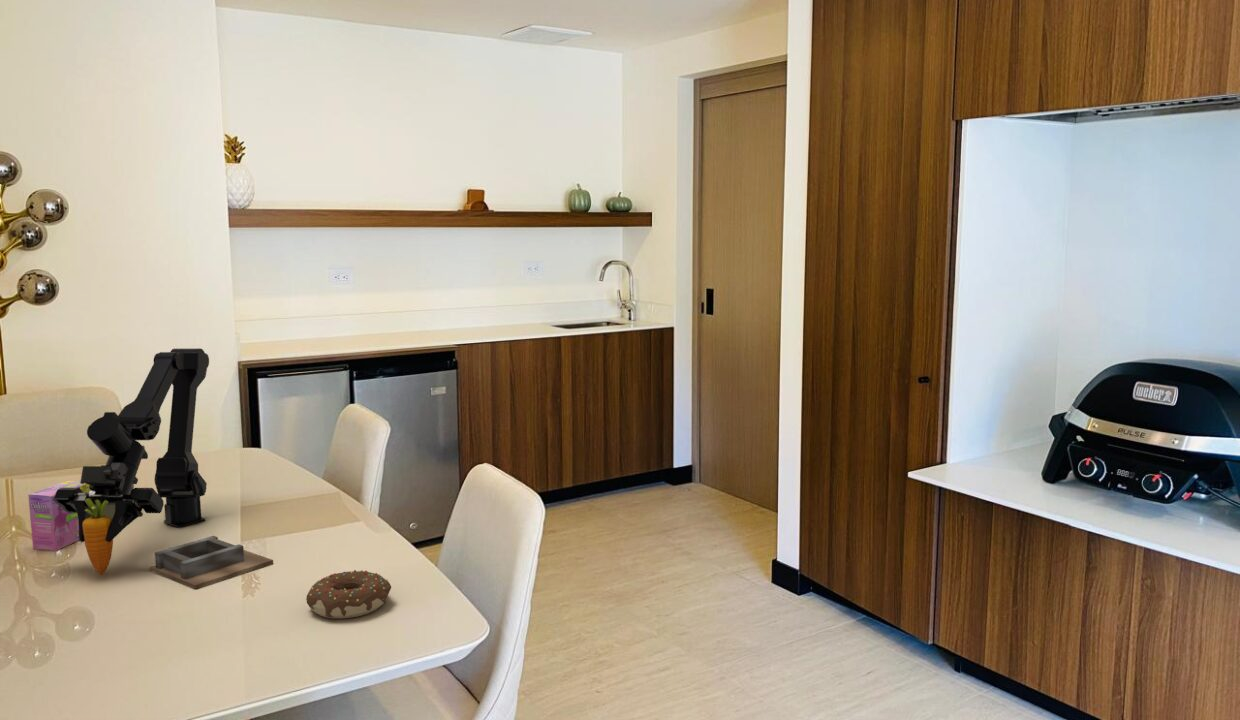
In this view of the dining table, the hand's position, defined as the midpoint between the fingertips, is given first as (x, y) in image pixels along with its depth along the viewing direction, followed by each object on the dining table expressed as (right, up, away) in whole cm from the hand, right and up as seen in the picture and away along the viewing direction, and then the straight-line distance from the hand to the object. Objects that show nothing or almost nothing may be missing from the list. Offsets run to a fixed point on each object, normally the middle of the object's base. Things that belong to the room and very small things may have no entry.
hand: (94, 541), depth 175 cm
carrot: (0, -7, +2) cm, 7 cm away
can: (-19, -2, +40) cm, 44 cm away
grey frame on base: (+19, -6, +7) cm, 21 cm away
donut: (+51, -9, -12) cm, 53 cm away
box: (-19, -5, +22) cm, 29 cm away
